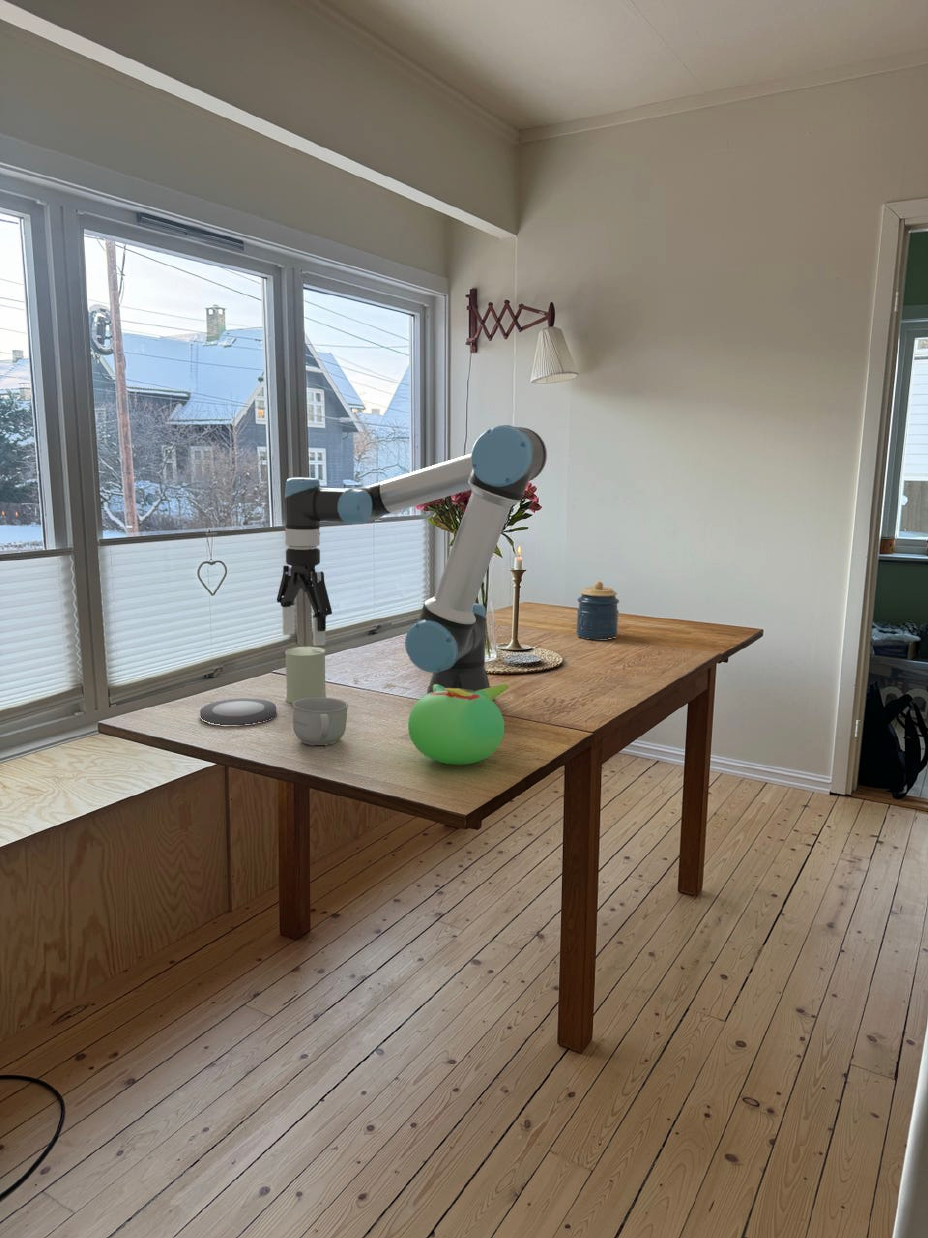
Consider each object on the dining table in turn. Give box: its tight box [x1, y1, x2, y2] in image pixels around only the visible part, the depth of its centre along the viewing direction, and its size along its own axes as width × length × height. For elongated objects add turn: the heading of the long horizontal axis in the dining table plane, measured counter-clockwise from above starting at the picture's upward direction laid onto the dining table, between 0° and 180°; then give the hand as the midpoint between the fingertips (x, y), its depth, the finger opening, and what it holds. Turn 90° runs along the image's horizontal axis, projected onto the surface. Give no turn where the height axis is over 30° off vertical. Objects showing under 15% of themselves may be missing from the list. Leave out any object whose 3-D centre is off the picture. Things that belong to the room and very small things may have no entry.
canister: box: [575, 580, 620, 639], centre depth 275 cm, size 13×13×18 cm
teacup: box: [292, 697, 349, 746], centre depth 172 cm, size 14×11×8 cm
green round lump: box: [407, 684, 510, 766], centre depth 163 cm, size 18×17×15 cm
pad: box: [199, 698, 277, 725], centre depth 190 cm, size 16×16×2 cm
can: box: [284, 646, 327, 705], centre depth 202 cm, size 9×9×12 cm
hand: (303, 639), depth 201 cm, fingers open, 13 cm apart
